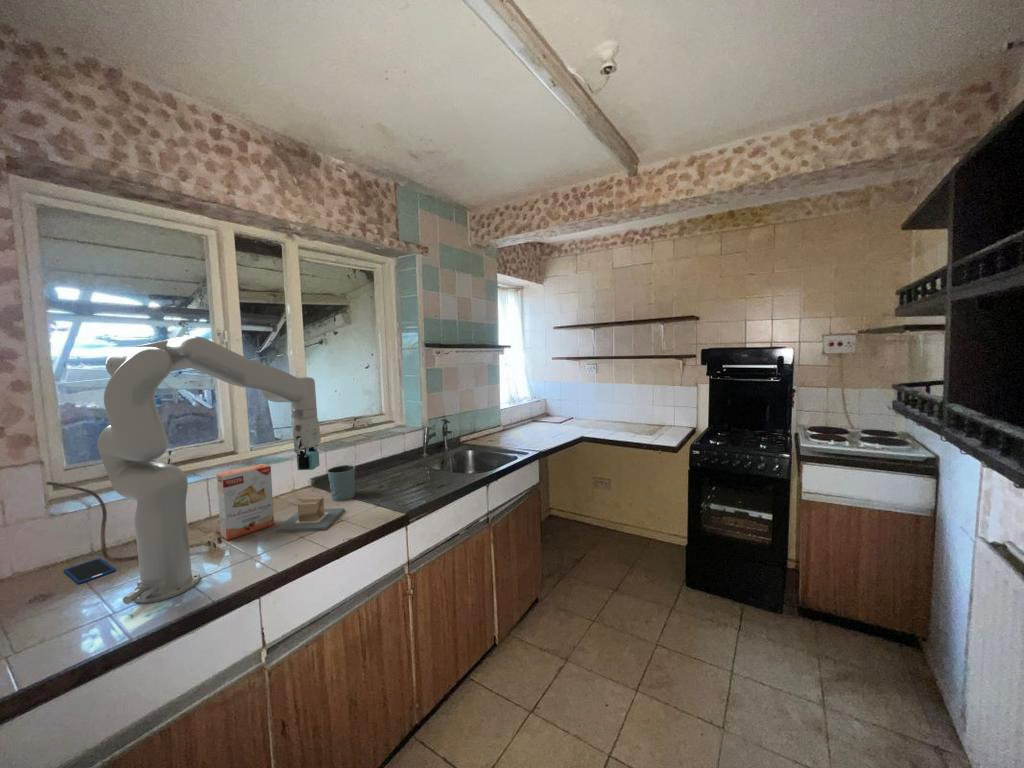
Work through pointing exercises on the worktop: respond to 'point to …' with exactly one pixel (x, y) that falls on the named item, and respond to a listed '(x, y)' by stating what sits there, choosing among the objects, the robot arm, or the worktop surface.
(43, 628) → the worktop surface
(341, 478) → the blue cup
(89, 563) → the cell phone
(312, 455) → the teal cube
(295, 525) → the board
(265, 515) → the cracker box
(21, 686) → the worktop surface
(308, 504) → the oak cube
